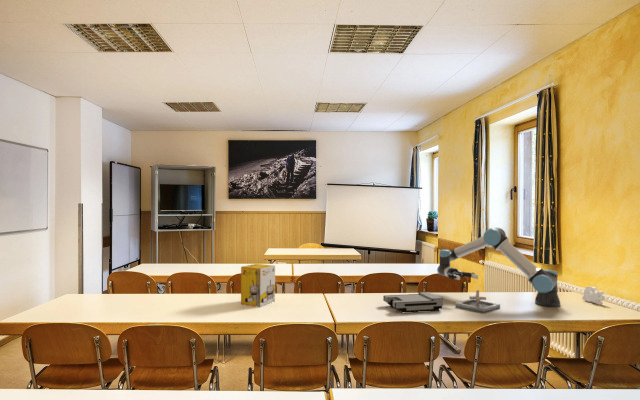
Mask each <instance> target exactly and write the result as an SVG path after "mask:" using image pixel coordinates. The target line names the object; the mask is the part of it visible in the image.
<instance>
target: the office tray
mask: <svg viewBox="0 0 640 400" xmlns="http://www.w3.org/2000/svg"><path fill="white" fill-rule="evenodd" d="M382 297H383V302H385V303H387V304H388V306H390V307H392V306H393V308H394V307H395V308H394V309H395V310H396V311H399V312H400V311H402V312H413V313H419V312H418V311H430V312H439V311H440V309H443V306H444V298H443V297H441V296H438V295H436V294H433V293H432V292H430V291H418V293H414V294H413V293H412V294H410V293H409V294H391V295H390V294H389V295H387V294H386V295H383V296H382ZM402 312H401V313H402Z"/></svg>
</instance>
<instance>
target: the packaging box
mask: <svg viewBox="0 0 640 400" xmlns="http://www.w3.org/2000/svg"><path fill="white" fill-rule="evenodd" d="M272 302H274V303H276V265H274V264H273V265H271V264H262V263H253V264H248V265H243V266H240V305H243V304H246V305H245V306H250V305H252V306H251V307H256V306H258V307H257V308H262V307H265V306H268V305H271V304H273V303H272ZM270 303H271V304H270ZM267 304H268V305H267Z"/></svg>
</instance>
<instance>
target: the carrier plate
mask: <svg viewBox="0 0 640 400" xmlns="http://www.w3.org/2000/svg"><path fill="white" fill-rule="evenodd" d="M455 308H457V309H462V310H467V311H472V312H476V313H481V314H486V313H490V312H494V311H496V310H499V309H500V308H501V304H500V303H497V302H496V303H495V302H490V301H486V300H480V301H479V306H476V299H470V298H469V299H465V300H463V301H462V300H461V301H458V302H455Z"/></svg>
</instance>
